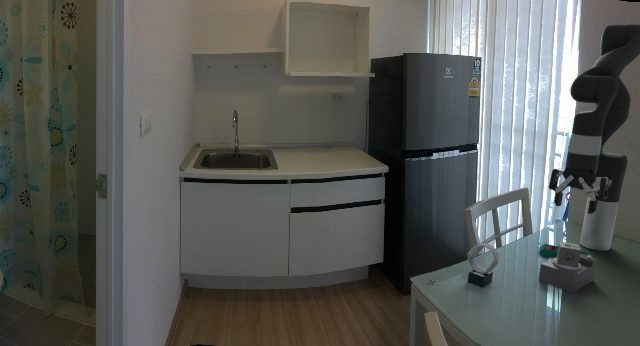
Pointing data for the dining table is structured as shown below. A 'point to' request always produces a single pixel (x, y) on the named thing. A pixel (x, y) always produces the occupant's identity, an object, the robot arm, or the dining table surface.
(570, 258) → the dice cube
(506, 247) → the dining table surface
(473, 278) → the watch
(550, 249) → the digital multimeter
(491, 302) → the dining table surface
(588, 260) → the camera body
